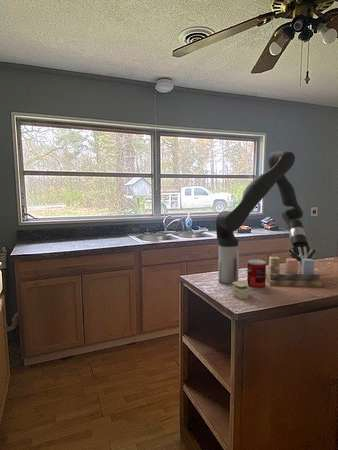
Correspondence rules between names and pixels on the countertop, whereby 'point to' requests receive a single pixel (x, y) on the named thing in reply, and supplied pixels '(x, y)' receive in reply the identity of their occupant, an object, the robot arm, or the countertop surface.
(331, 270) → the countertop surface
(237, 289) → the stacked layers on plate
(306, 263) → the slate key
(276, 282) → the wooden board with bar
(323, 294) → the countertop surface
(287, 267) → the salmon orange block
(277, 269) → the maple key
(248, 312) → the countertop surface
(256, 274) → the canned food
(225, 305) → the countertop surface
